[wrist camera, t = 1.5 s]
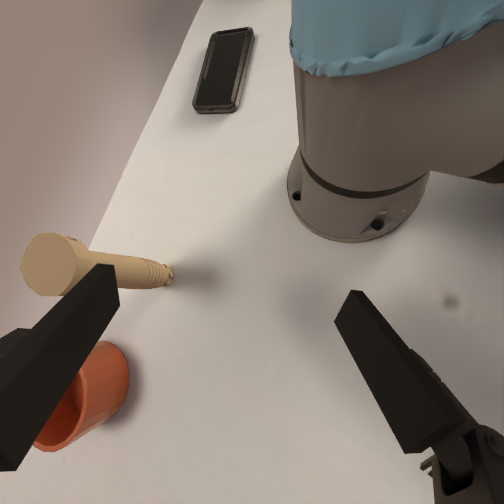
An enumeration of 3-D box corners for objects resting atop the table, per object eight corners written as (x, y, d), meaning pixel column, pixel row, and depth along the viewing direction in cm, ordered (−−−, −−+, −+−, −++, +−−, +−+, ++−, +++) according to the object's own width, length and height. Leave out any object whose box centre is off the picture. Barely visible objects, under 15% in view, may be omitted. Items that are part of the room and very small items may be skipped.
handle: (175, 300, 30) (57, 308, 16) (143, 282, 32) (12, 274, 18) (189, 270, 31) (86, 250, 16) (156, 253, 33) (39, 223, 18)
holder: (93, 327, 33) (48, 334, 27) (141, 367, 30) (102, 385, 24) (59, 391, 33) (6, 412, 27) (104, 439, 29) (55, 474, 24)
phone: (254, 26, 34) (234, 106, 32) (255, 34, 35) (236, 112, 33) (211, 32, 37) (189, 108, 35) (214, 39, 38) (193, 113, 36)
